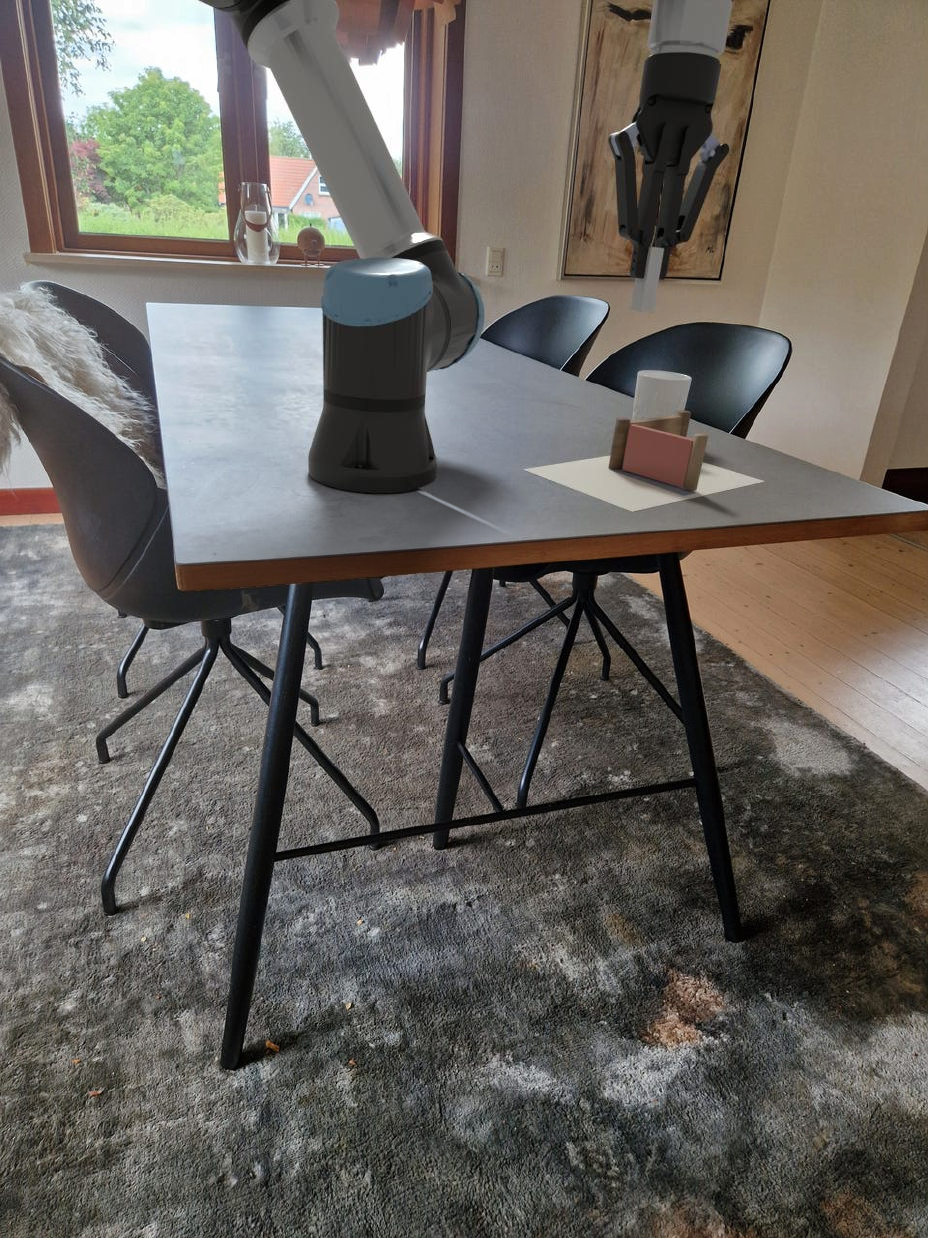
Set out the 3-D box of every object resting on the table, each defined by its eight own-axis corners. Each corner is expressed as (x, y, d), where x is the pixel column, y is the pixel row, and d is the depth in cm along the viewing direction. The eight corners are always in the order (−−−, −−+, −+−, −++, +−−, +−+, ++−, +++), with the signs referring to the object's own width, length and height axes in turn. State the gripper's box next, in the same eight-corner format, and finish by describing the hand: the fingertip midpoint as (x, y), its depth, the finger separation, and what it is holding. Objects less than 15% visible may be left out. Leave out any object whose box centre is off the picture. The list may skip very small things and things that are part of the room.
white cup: (639, 432, 126) (650, 368, 121) (686, 443, 122) (699, 376, 117) (618, 440, 120) (629, 373, 115) (666, 451, 116) (680, 381, 112)
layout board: (631, 515, 88) (632, 510, 88) (522, 472, 100) (522, 468, 100) (764, 484, 104) (765, 480, 103) (656, 450, 116) (657, 447, 116)
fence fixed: (615, 471, 102) (624, 421, 99) (605, 467, 103) (613, 418, 101) (684, 459, 111) (693, 412, 108) (674, 455, 112) (683, 409, 109)
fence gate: (699, 489, 97) (710, 435, 94) (692, 491, 96) (704, 437, 93) (627, 468, 103) (636, 417, 100) (620, 469, 102) (629, 418, 99)
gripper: (722, 70, 83) (678, 310, 93) (607, 53, 79) (575, 304, 90) (762, 59, 76) (710, 318, 87) (640, 40, 73) (601, 311, 83)
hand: (641, 310), depth 88 cm, fingers closed
